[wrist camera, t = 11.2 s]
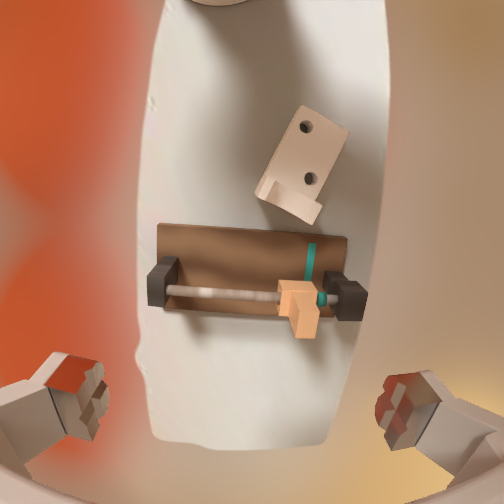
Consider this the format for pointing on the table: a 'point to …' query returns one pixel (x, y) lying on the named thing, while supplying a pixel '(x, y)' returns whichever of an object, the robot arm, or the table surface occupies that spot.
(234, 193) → the table surface
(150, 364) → the table surface
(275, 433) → the table surface
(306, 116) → the bracket
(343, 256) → the linear slide rail
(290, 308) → the orange l-shaped block
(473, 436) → the robot arm
